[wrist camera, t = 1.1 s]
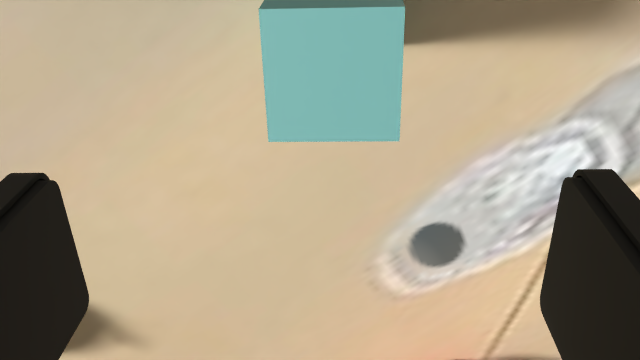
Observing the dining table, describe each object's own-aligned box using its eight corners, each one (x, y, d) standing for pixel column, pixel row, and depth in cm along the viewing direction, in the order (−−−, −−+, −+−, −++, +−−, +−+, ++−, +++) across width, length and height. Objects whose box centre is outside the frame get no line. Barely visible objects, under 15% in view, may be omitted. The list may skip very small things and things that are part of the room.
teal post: (384, -46, 29) (405, 6, 18) (382, 47, 31) (399, 141, 20) (292, -43, 29) (258, 9, 18) (296, 48, 31) (268, 141, 20)
